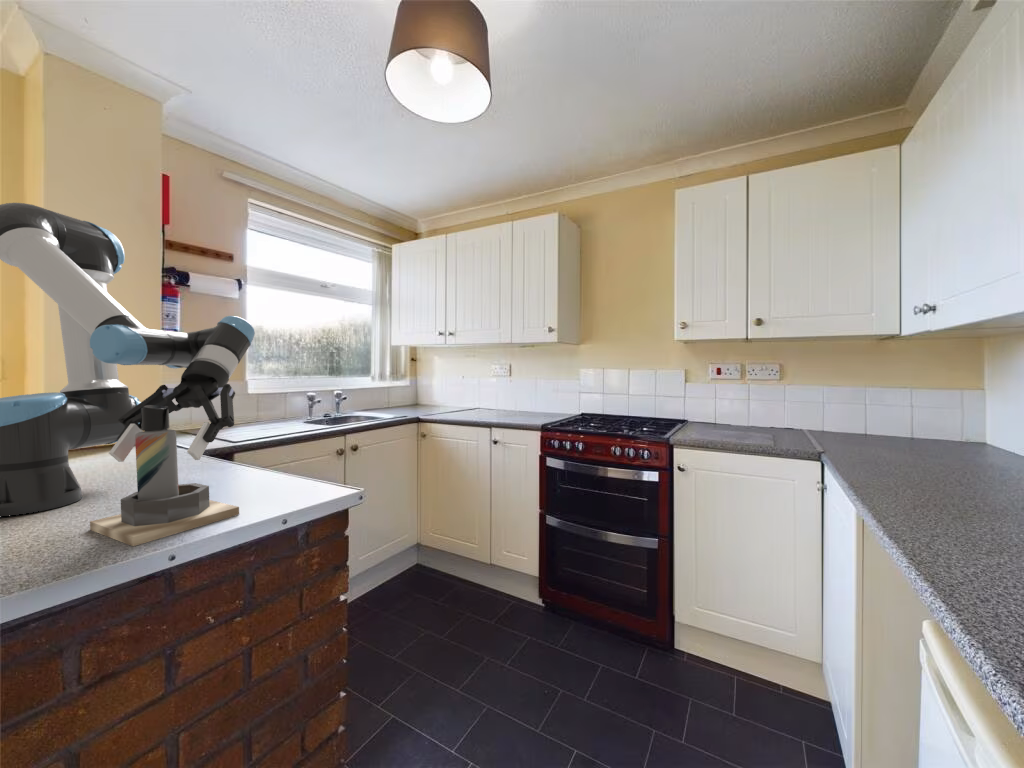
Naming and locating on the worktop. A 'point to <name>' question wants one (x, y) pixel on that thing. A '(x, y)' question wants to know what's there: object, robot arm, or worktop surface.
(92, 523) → the holder
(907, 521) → the worktop surface
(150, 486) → the lotion bottle
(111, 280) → the robot arm
